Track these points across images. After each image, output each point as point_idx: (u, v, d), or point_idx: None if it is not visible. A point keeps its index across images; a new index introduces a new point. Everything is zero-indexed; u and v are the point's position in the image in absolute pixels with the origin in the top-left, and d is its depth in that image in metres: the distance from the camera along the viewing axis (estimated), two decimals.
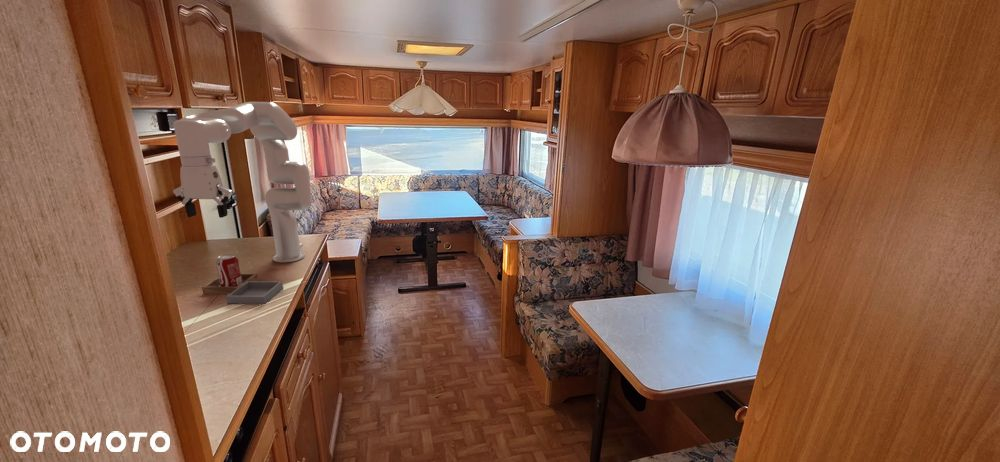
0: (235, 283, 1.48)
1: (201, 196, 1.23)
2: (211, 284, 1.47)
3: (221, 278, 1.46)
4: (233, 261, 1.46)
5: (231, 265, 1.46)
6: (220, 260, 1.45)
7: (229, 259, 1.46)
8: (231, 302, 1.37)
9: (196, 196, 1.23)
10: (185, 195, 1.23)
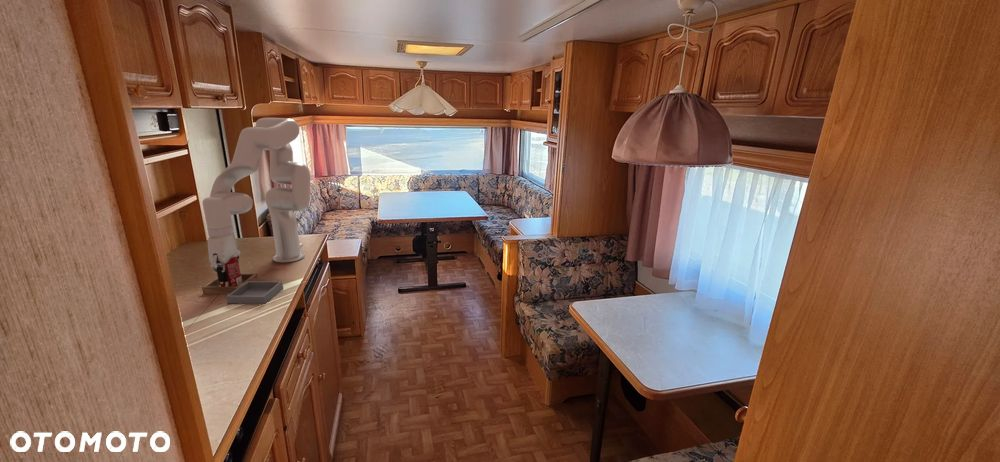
0: (235, 282, 1.48)
1: None
2: (211, 284, 1.47)
3: None
4: (233, 261, 1.46)
5: (230, 265, 1.46)
6: None
7: None
8: (231, 302, 1.37)
9: None
10: (224, 261, 1.43)
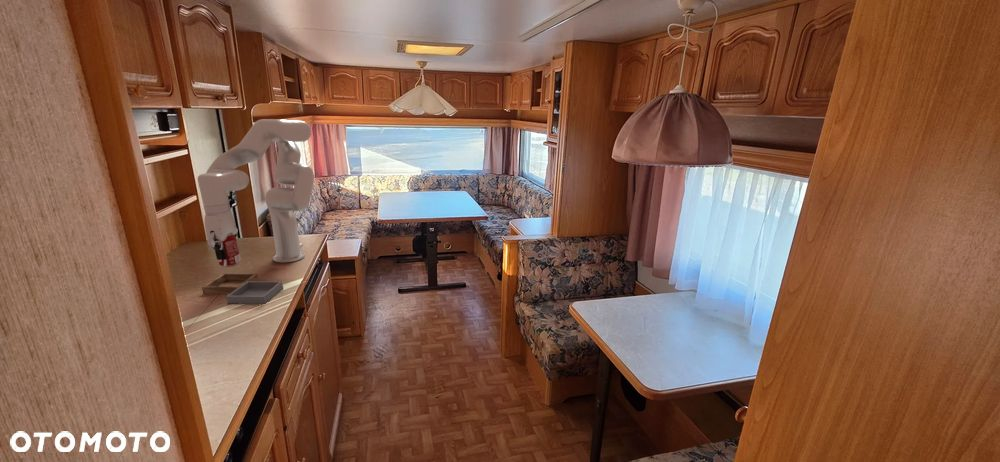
0: (233, 260, 1.47)
1: None
2: (211, 284, 1.47)
3: None
4: (231, 239, 1.45)
5: (228, 243, 1.44)
6: None
7: (227, 237, 1.44)
8: (231, 302, 1.37)
9: None
10: (222, 239, 1.41)
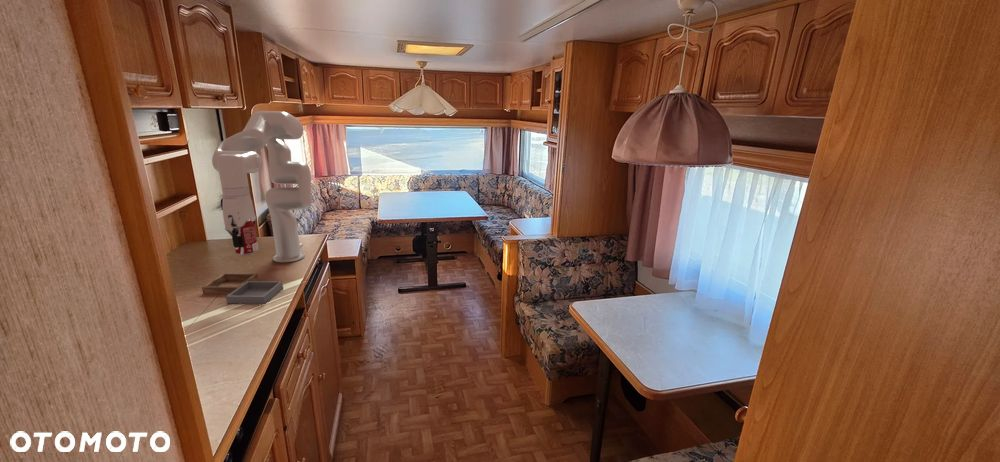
0: (251, 248, 1.37)
1: None
2: (211, 284, 1.47)
3: None
4: (249, 225, 1.35)
5: (246, 229, 1.35)
6: None
7: None
8: (231, 302, 1.37)
9: None
10: (240, 224, 1.32)
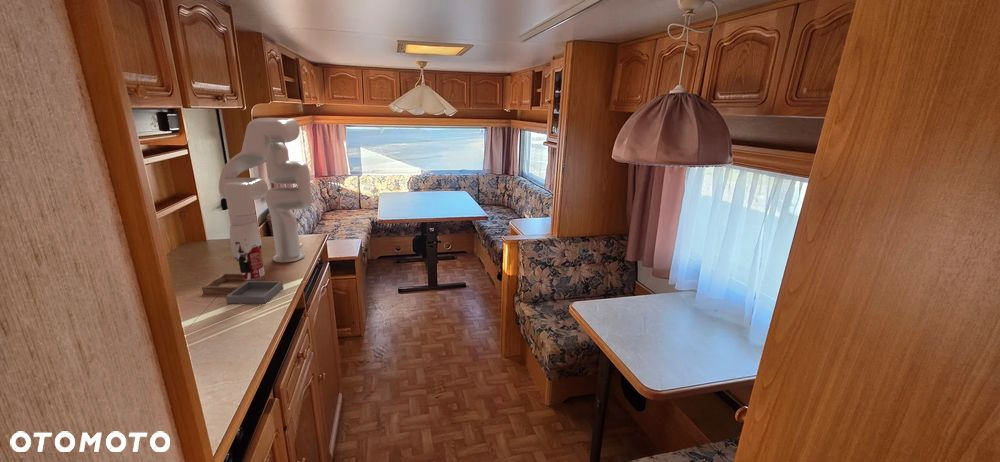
0: (257, 274, 1.39)
1: None
2: (211, 284, 1.47)
3: None
4: (256, 250, 1.37)
5: (253, 255, 1.37)
6: None
7: (252, 248, 1.36)
8: (231, 302, 1.37)
9: None
10: (247, 251, 1.34)
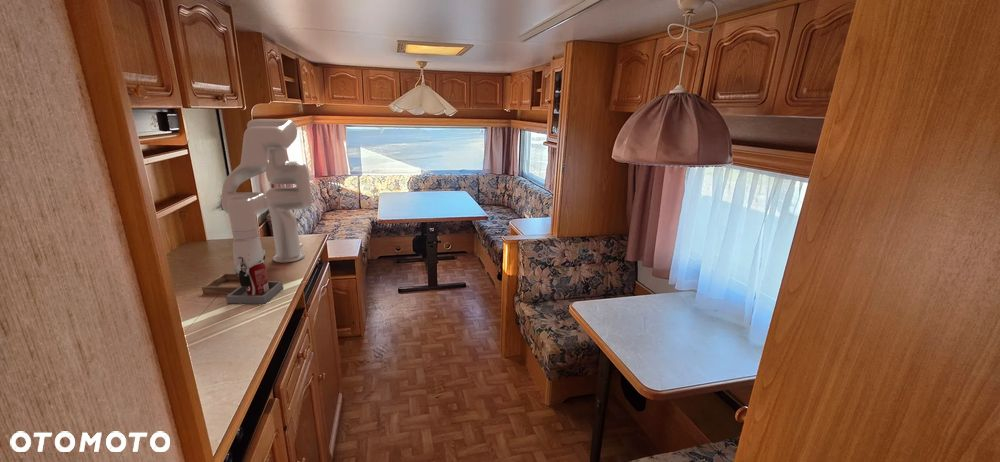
0: (262, 289, 1.42)
1: (258, 261, 1.40)
2: (211, 284, 1.47)
3: None
4: (260, 267, 1.40)
5: (258, 272, 1.39)
6: None
7: (256, 265, 1.39)
8: (231, 302, 1.37)
9: (255, 262, 1.39)
10: (250, 265, 1.36)
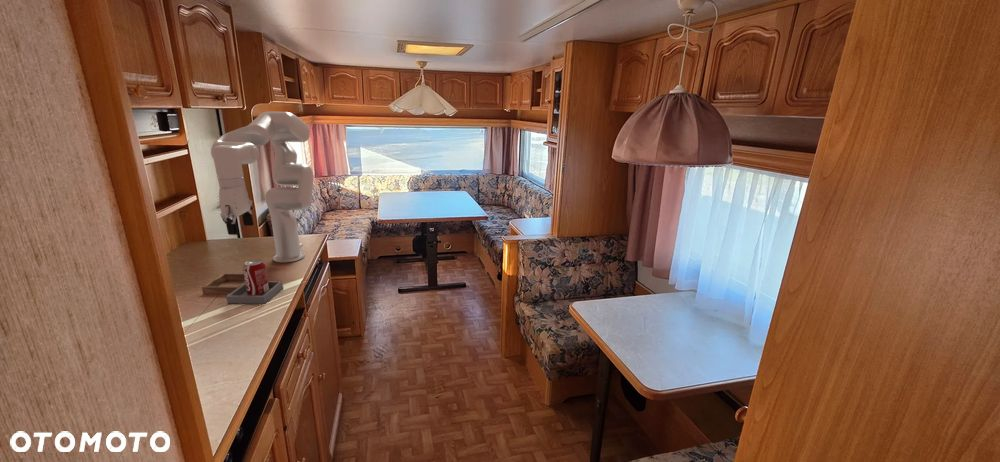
0: (262, 289, 1.42)
1: (245, 210, 1.41)
2: (211, 284, 1.47)
3: (248, 285, 1.40)
4: (260, 267, 1.40)
5: (258, 272, 1.39)
6: (247, 266, 1.38)
7: (256, 265, 1.39)
8: (231, 302, 1.37)
9: (242, 211, 1.40)
10: (237, 213, 1.37)
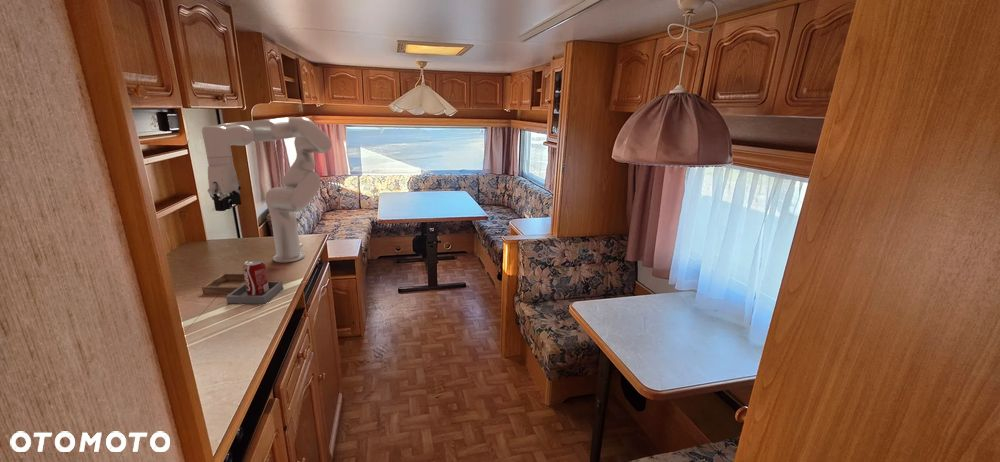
0: (262, 289, 1.42)
1: (232, 189, 1.49)
2: (211, 284, 1.47)
3: (248, 285, 1.40)
4: (260, 267, 1.40)
5: (258, 272, 1.39)
6: (247, 266, 1.38)
7: (256, 265, 1.39)
8: (231, 302, 1.37)
9: (230, 189, 1.47)
10: (224, 191, 1.44)
